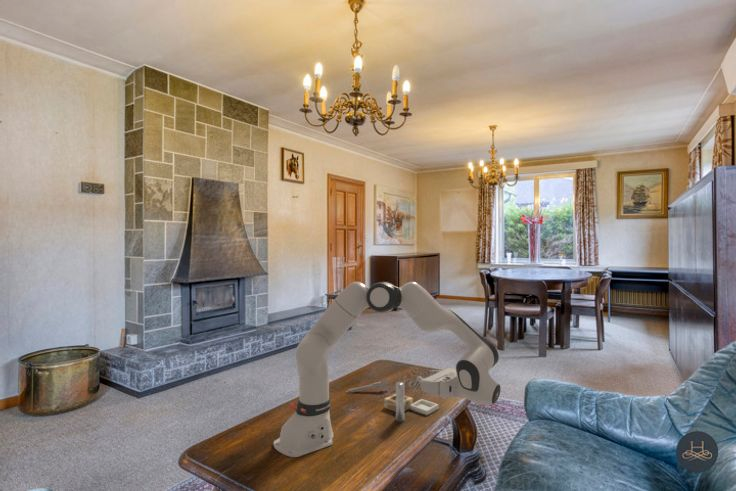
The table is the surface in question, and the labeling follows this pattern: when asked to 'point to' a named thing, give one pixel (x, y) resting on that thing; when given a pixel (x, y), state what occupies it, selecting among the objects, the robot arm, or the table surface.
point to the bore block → (391, 402)
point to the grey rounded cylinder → (400, 401)
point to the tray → (424, 407)
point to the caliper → (374, 385)
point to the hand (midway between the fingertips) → (424, 375)
